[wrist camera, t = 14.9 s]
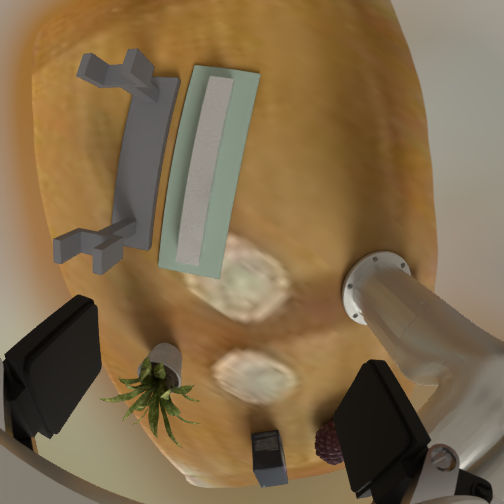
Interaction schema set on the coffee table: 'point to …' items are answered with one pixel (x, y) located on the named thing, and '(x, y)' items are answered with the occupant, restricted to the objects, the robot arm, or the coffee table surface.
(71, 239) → the grey base with uprights
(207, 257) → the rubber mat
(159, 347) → the house plant
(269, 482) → the small box
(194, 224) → the steel rail
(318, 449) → the pine cone
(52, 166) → the coffee table surface
